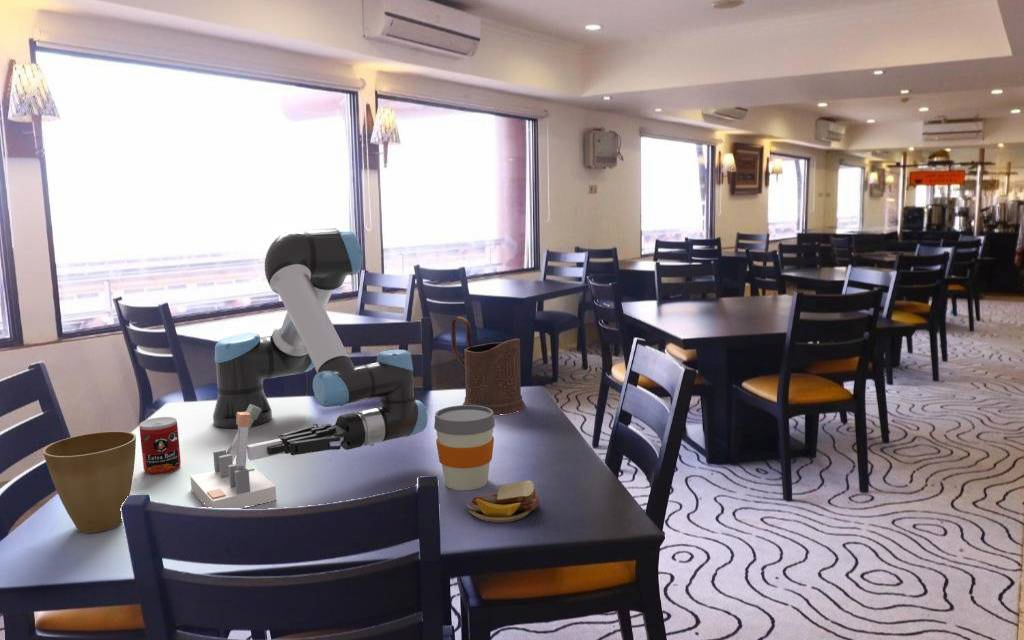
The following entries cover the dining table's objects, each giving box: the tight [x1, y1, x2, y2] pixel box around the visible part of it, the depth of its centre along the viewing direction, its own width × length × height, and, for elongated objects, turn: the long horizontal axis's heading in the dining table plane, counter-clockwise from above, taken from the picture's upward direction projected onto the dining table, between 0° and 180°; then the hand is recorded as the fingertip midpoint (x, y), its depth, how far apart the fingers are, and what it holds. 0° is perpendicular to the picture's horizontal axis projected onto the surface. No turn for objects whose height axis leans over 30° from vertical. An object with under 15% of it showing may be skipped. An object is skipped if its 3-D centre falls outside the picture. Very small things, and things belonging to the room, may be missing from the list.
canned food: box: [139, 416, 182, 476], centre depth 169 cm, size 8×8×11 cm
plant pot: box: [42, 430, 137, 534], centre depth 139 cm, size 15×15×16 cm
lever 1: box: [226, 404, 262, 462], centre depth 158 cm, size 2×2×15 cm
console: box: [190, 448, 277, 509], centre depth 153 cm, size 17×12×7 cm
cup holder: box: [450, 316, 527, 416], centre depth 215 cm, size 18×24×25 cm
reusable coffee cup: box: [433, 404, 496, 491], centre depth 157 cm, size 13×13×15 cm
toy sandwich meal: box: [467, 479, 540, 523], centre depth 143 cm, size 12×14×5 cm
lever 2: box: [235, 412, 251, 484], centre depth 148 cm, size 2×2×15 cm
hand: (248, 452), depth 148 cm, fingers closed
